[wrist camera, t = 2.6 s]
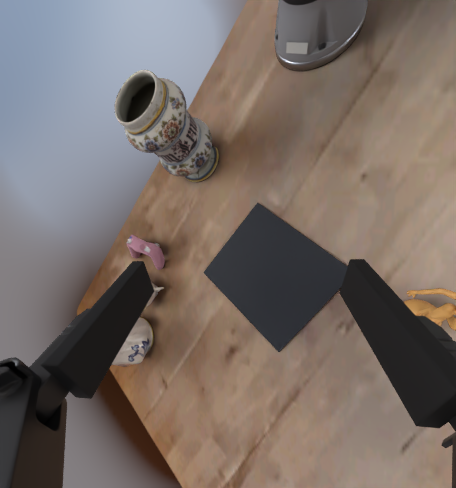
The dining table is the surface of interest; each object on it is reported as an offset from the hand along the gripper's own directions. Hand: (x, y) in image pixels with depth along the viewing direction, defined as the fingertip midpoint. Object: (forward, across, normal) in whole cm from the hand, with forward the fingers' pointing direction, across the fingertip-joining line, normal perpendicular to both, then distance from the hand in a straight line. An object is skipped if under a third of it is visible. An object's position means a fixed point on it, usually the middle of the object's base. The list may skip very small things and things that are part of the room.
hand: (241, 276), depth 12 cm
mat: (+18, +4, -14) cm, 23 cm away
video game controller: (+27, -23, -16) cm, 39 cm away
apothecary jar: (+37, -10, +3) cm, 38 cm away
